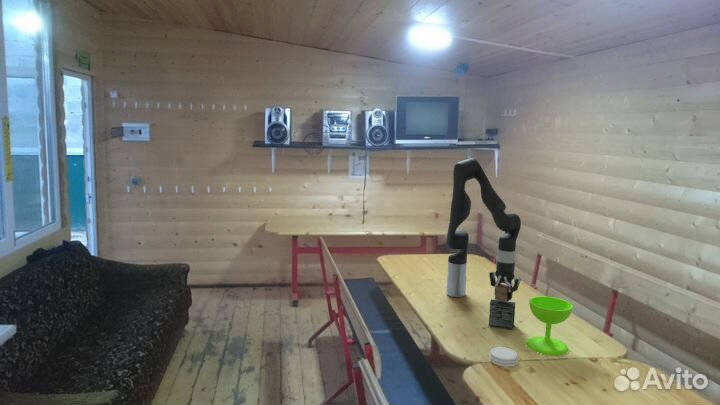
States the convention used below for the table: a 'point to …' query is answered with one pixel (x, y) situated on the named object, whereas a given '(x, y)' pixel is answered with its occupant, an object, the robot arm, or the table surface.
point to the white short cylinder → (503, 357)
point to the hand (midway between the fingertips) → (503, 297)
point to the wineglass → (549, 324)
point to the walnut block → (501, 293)
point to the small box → (502, 314)
